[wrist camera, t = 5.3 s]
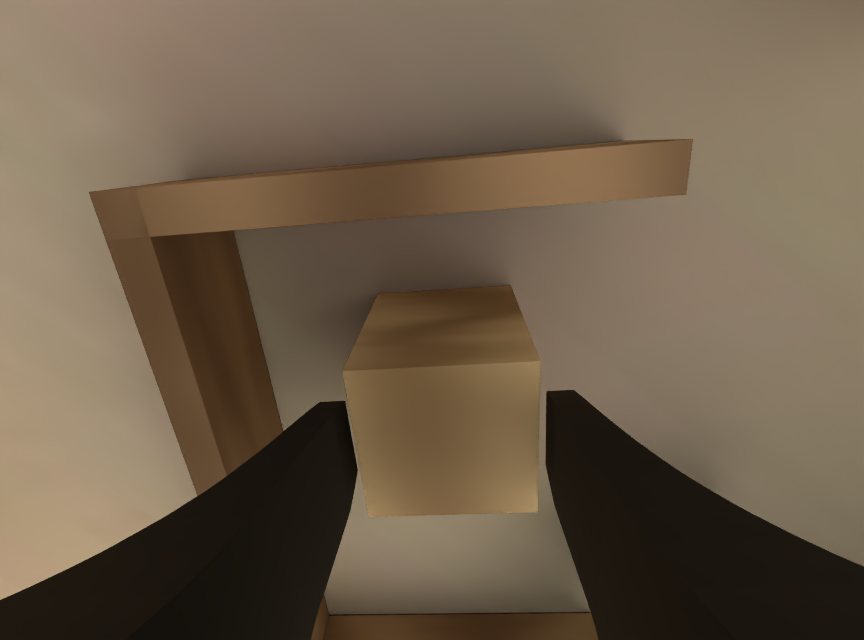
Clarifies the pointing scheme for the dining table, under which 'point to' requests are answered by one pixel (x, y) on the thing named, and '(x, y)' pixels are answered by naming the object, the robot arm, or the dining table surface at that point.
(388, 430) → the oak block
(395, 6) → the dining table surface
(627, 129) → the dining table surface
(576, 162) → the corral
